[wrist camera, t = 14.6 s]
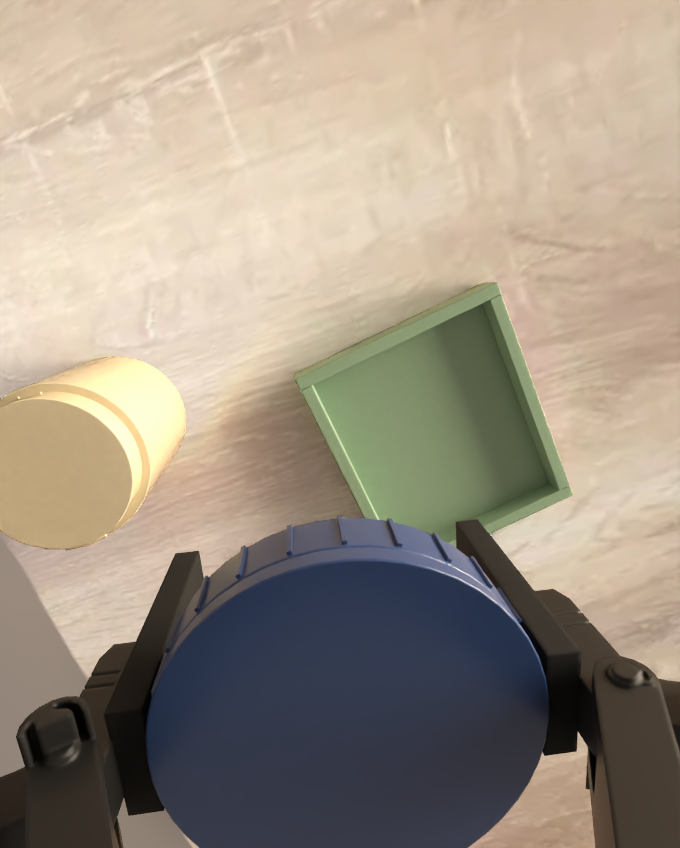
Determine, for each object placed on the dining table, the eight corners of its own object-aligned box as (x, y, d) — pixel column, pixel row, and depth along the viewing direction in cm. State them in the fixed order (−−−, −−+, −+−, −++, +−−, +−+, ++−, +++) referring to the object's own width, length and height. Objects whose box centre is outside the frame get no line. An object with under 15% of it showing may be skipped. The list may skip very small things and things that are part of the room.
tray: (294, 373, 33) (294, 379, 31) (484, 282, 33) (497, 281, 31) (388, 563, 38) (394, 578, 36) (558, 483, 37) (573, 495, 35)
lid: (584, 627, 13) (632, 683, 11) (380, 856, 14) (392, 939, 12) (299, 443, 11) (300, 473, 9) (96, 726, 12) (62, 802, 11)
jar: (31, 390, 32) (-88, 438, 22) (145, 334, 32) (78, 357, 22) (101, 496, 34) (23, 584, 24) (208, 444, 34) (174, 512, 24)
